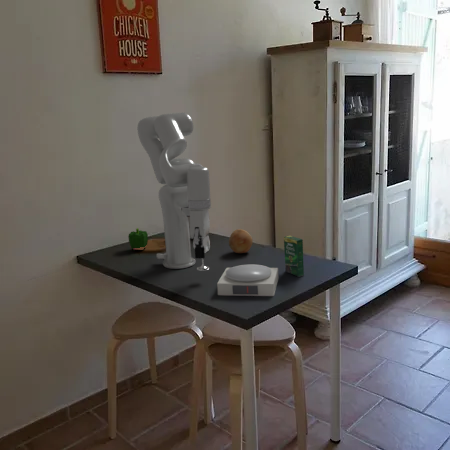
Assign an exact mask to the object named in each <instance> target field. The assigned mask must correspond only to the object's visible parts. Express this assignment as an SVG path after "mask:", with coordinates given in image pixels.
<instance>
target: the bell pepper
mask: <svg viewBox="0 0 450 450" xmlns="http://www.w3.org/2000/svg"><path fill="white" fill-rule="evenodd" d="M135 229H136V231H131V232H130V233H128V236H127V237H128V242H129V245H130V248H131V250H132V249H133V248H140V247H145V246H146V245H147V246H148V241H149V236H148V235H149V234H148V232H147V231H146V230H145V231H144V230H139V228H138V227H137V228H135Z"/></svg>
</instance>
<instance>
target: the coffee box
mask: <svg viewBox="0 0 450 450" xmlns="http://www.w3.org/2000/svg"><path fill="white" fill-rule="evenodd" d="M303 241H304V240H303V239H302V238H299V237H295V236H292V235H287V236H283V247H284V249H283V251H284V267H285V272H286V273H288V274H291V275H293V276H296V277H298V278H299V277H303V276H304V275H305V274H304V273H305V271H304V270H305V265H304V242H303Z"/></svg>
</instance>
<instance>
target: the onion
mask: <svg viewBox="0 0 450 450" xmlns="http://www.w3.org/2000/svg"><path fill="white" fill-rule="evenodd" d="M253 241H254V240H253V237H252V235H251V234H250V233H249V232H248V231H247V230H245V229H242V228H238V229H235V230H234V231H232V233H231V234H230V236H229V239H228V245H229V247H230V249H231V251H233V252H234V253H236V254H246V253H248V252H249V251H250V250H251V248H252V245H253Z"/></svg>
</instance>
